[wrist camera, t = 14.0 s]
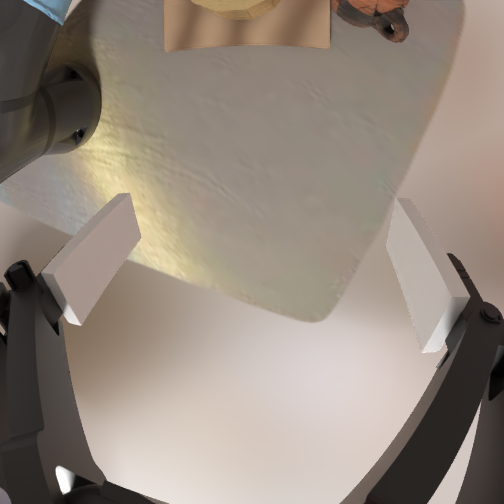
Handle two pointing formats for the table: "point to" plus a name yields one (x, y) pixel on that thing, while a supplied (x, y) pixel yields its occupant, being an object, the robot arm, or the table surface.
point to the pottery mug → (362, 15)
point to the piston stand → (247, 26)
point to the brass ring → (237, 8)
